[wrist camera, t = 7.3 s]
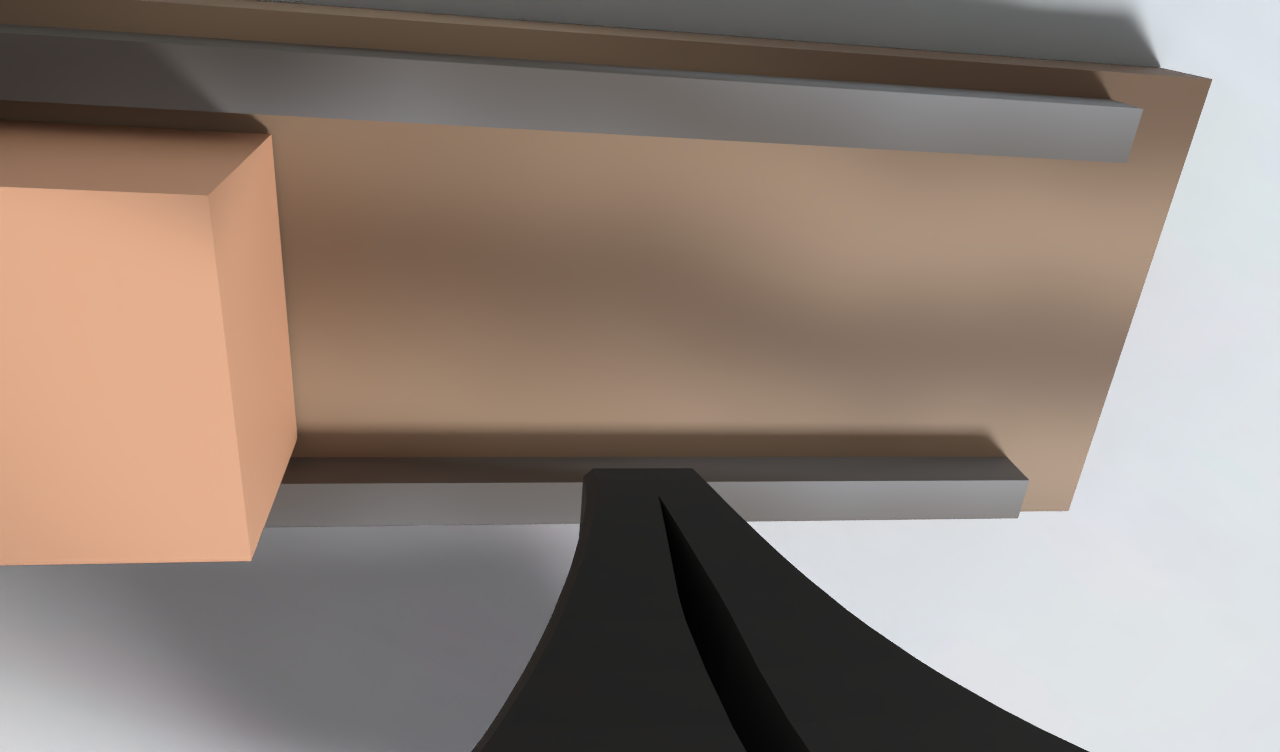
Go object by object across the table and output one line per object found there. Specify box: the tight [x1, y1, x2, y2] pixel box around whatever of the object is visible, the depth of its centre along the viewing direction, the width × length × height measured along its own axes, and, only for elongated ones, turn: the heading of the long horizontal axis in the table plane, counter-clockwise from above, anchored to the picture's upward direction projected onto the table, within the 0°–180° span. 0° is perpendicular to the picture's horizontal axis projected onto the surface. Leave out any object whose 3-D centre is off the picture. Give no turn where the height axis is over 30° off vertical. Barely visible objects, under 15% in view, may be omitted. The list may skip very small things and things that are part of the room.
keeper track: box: [0, 0, 1212, 527], centre depth 17 cm, size 10×26×6 cm, turn 85°
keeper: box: [0, 120, 297, 565], centre depth 15 cm, size 6×5×4 cm
